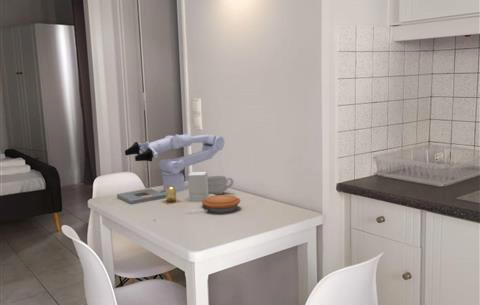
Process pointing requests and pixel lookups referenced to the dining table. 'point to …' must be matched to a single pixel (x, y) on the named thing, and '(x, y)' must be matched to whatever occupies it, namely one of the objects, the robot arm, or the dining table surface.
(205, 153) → the robot arm
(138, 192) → the hole board
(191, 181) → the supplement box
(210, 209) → the pie
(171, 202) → the tan flat square
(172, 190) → the brass peg
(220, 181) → the teacup
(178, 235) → the dining table surface
